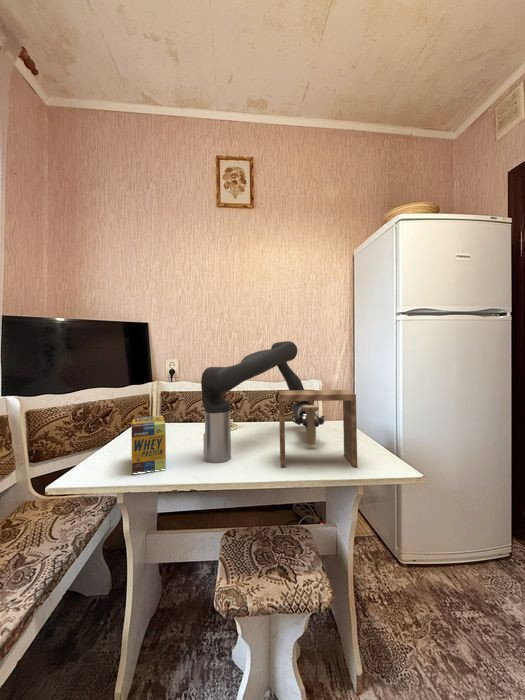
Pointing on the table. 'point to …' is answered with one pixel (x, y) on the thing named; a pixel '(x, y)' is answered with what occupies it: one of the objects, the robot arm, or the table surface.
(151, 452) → the protein box
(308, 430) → the handle
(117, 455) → the table surface
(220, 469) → the table surface
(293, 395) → the shelf
